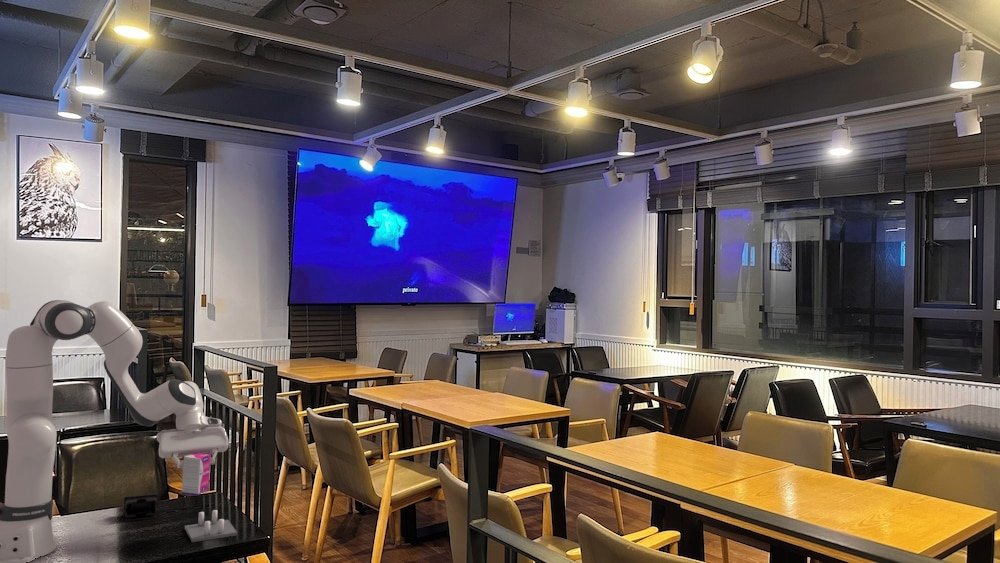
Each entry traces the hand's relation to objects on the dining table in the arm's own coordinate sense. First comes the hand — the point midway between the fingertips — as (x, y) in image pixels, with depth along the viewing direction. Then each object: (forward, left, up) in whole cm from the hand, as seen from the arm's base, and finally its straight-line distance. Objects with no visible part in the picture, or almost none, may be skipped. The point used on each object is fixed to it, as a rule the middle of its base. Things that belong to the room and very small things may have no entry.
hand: (196, 465), depth 219 cm
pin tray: (+5, -1, -21) cm, 22 cm away
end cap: (-12, +24, -22) cm, 35 cm away
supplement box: (0, 0, -8) cm, 8 cm away
